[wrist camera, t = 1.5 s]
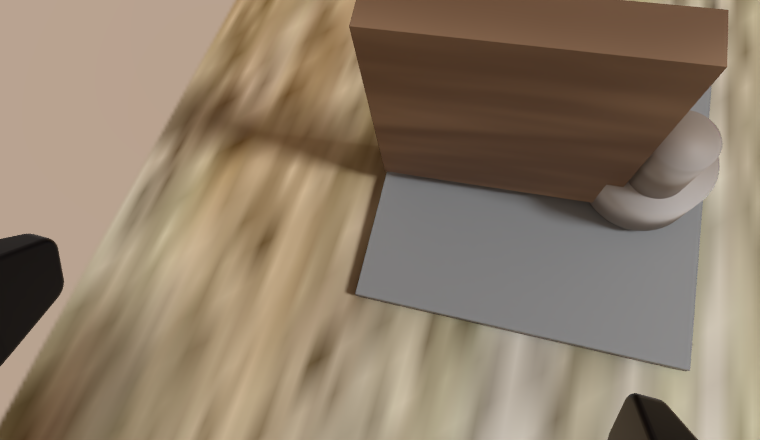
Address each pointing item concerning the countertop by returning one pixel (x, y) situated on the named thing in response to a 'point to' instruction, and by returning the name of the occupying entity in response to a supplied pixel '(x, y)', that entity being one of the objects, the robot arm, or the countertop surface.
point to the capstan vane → (548, 98)
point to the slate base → (536, 266)
